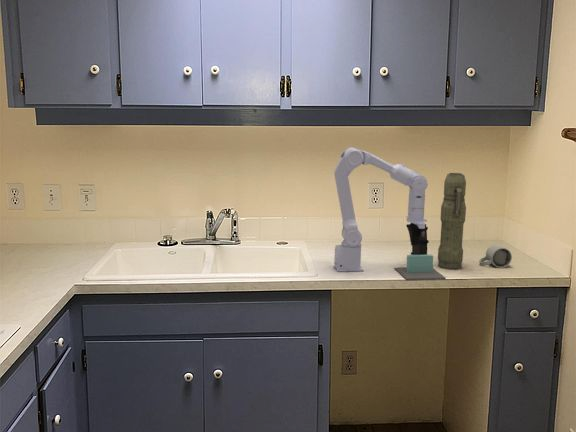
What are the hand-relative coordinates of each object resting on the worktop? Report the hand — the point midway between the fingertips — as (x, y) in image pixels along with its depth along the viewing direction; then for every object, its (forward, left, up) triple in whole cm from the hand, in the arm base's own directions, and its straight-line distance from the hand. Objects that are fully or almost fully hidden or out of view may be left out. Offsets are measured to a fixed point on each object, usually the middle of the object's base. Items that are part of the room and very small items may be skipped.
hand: (414, 244), depth 211 cm
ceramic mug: (+33, +2, -10) cm, 34 cm away
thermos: (+15, +2, -10) cm, 18 cm away
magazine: (+6, +11, -10) cm, 16 cm away
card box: (0, -6, -9) cm, 11 cm away
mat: (0, -7, -9) cm, 12 cm away
